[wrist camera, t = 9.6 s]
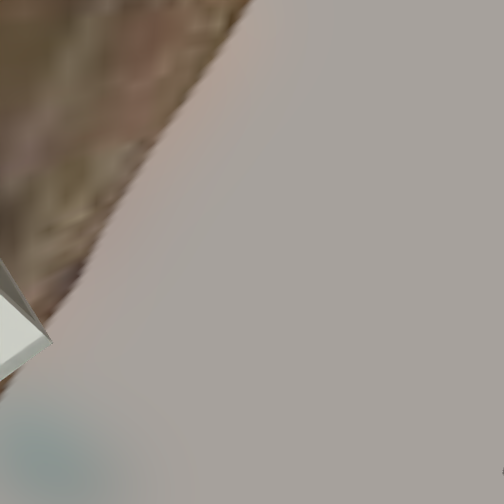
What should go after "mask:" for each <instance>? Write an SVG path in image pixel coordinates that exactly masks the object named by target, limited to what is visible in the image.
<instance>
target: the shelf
mask: <svg viewBox="0 0 504 504" xmlns="http://www.w3.org/2000/svg"><path fill="white" fill-rule="evenodd" d="M51 344H52V341H51V339H50V338H49V336H48V334H47V332H46V331H45V329H44V328H43V326H42V324H41V323H40V321H39V319H38V318H37V316H36V315H35V313H34V311H33V310H32V308H31V307H30V305H29V303H28V302H27V300H26V298H25V297H24V295H23V294H22V292H21V290H20V289H19V287H18V285H17V284H16V282H15V281H14V279H13V277H12V276H11V274H10V273H9V271H8V269H7V268H6V266H5V264H4V263H3V261H2V260H1V258H0V381H1V380H2V379H4V378H5V377H7V376H8V375H9V374H11V373H12V372H14V371H15V370H16V369H18V368H19V367H20V366H22V365H23V364H25V363H26V362H27V361H29V360H30V359H32V358H33V357H34V356H36V355H37V354H38V353H40V352H41V351H43V350H44V349H45V348H47V347H48V346H50V345H51Z"/></svg>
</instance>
